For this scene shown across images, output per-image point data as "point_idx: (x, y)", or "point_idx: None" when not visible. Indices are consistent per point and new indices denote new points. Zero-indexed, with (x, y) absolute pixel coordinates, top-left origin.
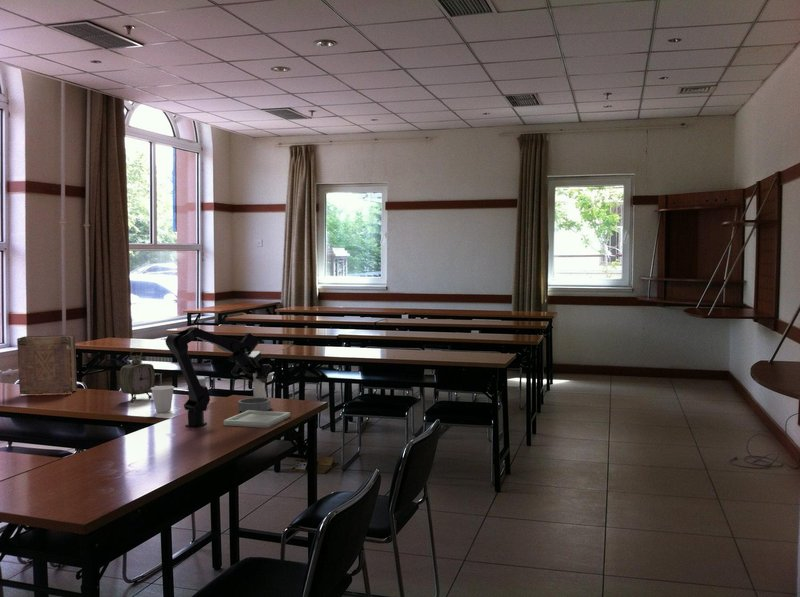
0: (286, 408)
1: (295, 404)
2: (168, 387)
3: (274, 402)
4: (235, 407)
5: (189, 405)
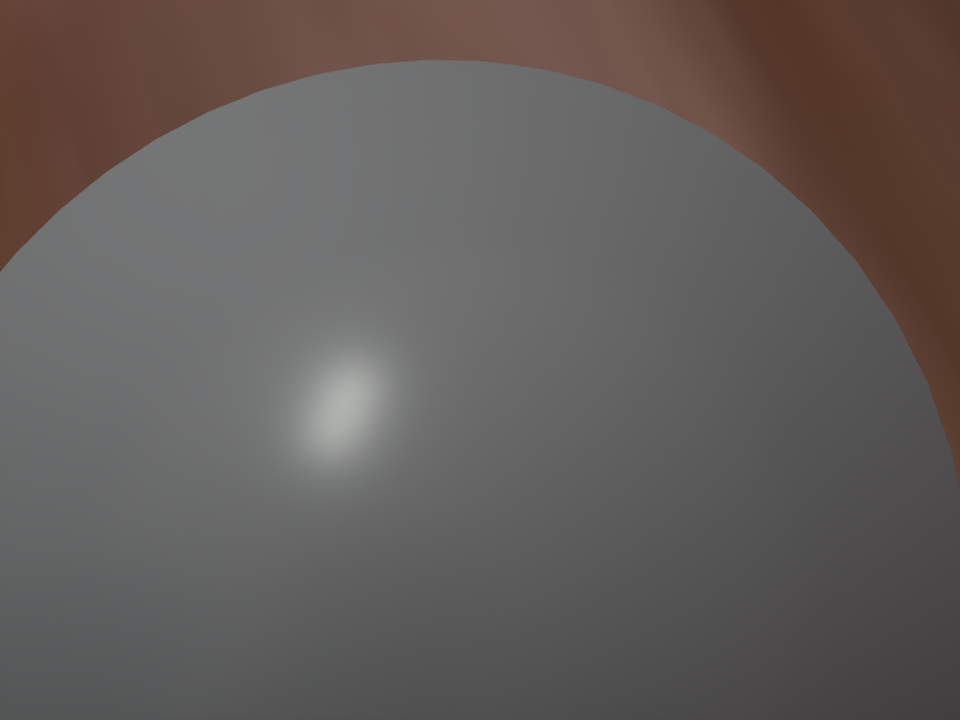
0: (943, 410)
1: (934, 117)
2: None
3: (544, 44)
4: None
5: None
